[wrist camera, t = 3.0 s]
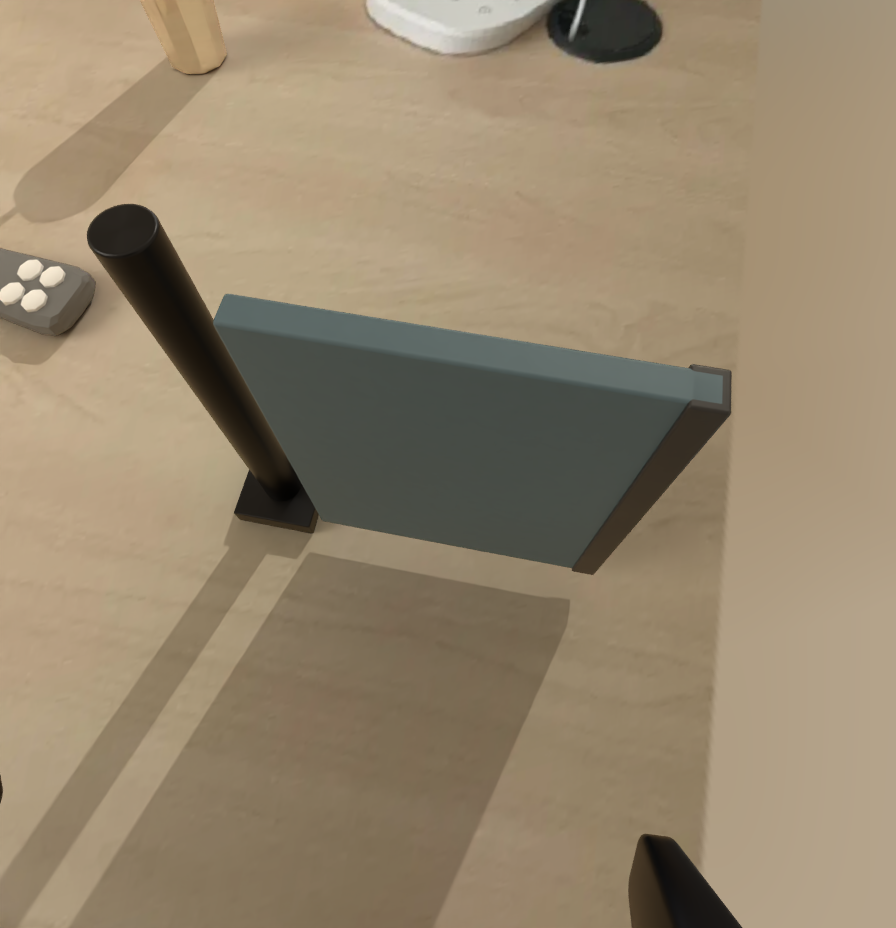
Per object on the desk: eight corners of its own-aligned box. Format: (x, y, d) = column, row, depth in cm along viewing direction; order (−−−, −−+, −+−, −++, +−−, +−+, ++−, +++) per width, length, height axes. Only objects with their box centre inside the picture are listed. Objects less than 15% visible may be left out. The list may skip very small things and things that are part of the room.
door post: (313, 534, 24) (165, 301, 12) (239, 519, 25) (14, 276, 12) (333, 464, 26) (220, 184, 13) (263, 451, 26) (82, 164, 13)
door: (593, 575, 22) (732, 414, 12) (321, 523, 23) (208, 327, 12) (596, 549, 23) (732, 369, 12) (328, 499, 24) (225, 287, 13)
